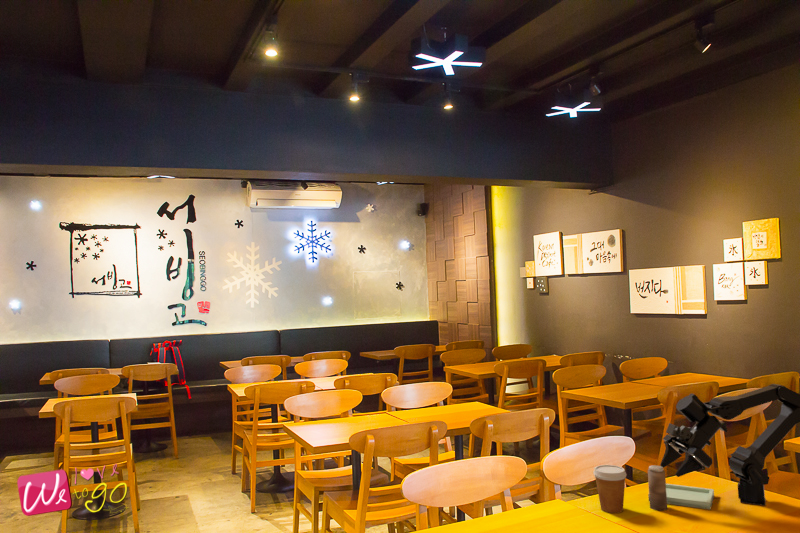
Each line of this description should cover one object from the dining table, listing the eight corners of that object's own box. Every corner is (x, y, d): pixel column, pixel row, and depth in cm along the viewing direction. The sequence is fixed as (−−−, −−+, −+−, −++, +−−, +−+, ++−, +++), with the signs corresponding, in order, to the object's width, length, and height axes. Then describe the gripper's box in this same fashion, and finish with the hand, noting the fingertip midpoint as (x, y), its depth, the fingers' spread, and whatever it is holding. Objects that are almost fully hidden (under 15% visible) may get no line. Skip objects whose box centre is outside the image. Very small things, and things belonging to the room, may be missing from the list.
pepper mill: (668, 506, 179) (665, 466, 179) (666, 511, 174) (663, 470, 175) (651, 503, 181) (648, 464, 182) (648, 509, 177) (646, 468, 178)
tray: (714, 495, 185) (713, 489, 185) (710, 509, 174) (709, 502, 174) (655, 488, 194) (655, 482, 195) (648, 501, 183) (648, 494, 184)
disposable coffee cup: (631, 515, 173) (628, 474, 173) (597, 514, 175) (594, 473, 175) (625, 504, 182) (623, 464, 182) (593, 503, 184) (591, 464, 184)
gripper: (667, 408, 189) (635, 445, 188) (699, 420, 170) (664, 461, 169) (692, 432, 189) (661, 469, 188) (728, 447, 170) (693, 488, 169)
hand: (668, 471), depth 178 cm, fingers open, 9 cm apart
